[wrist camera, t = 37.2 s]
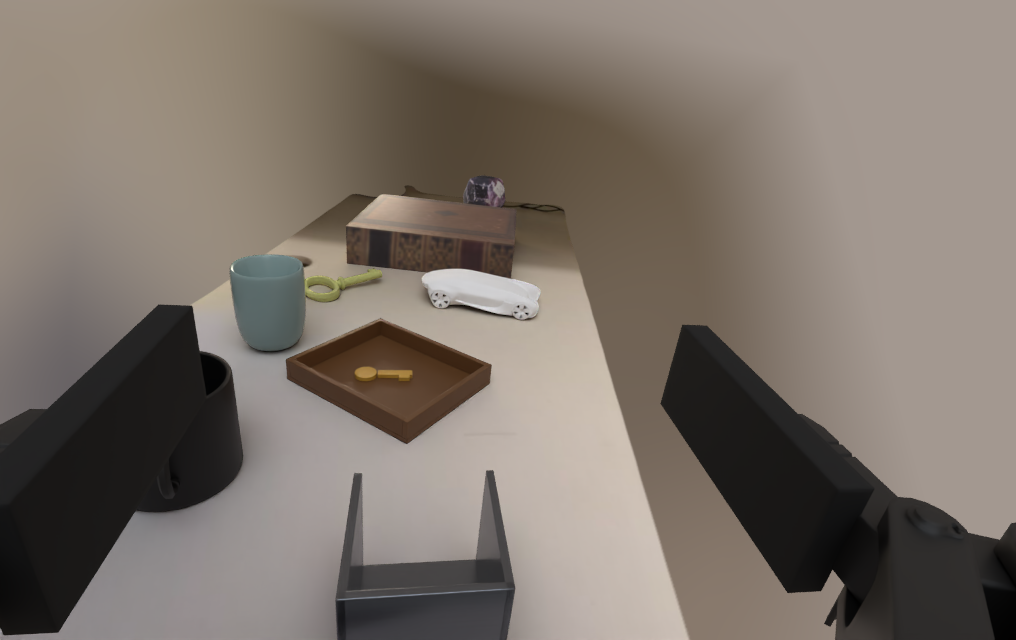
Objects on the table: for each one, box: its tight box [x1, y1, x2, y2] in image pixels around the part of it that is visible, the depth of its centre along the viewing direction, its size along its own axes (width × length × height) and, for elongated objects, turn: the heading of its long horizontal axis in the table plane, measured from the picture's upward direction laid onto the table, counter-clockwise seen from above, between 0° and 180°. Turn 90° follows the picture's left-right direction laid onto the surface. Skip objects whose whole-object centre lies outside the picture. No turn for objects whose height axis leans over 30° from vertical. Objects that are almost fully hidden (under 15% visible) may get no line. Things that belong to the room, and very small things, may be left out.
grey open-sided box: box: [336, 470, 515, 640], centre depth 33 cm, size 9×9×9 cm
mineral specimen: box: [463, 176, 505, 208], centre depth 127 cm, size 10×10×10 cm
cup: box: [230, 255, 306, 351], centre depth 63 cm, size 8×8×10 cm
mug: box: [136, 351, 243, 512], centre depth 42 cm, size 9×12×9 cm
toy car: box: [422, 269, 541, 320], centre depth 81 cm, size 18×8×4 cm, turn 84°
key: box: [305, 268, 382, 302], centre depth 82 cm, size 7×12×2 cm, turn 147°
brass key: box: [355, 367, 412, 381], centre depth 60 cm, size 6×2×1 cm, turn 99°
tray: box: [286, 318, 492, 444], centre depth 60 cm, size 17×14×2 cm
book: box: [346, 194, 516, 279], centre depth 102 cm, size 24×28×6 cm
